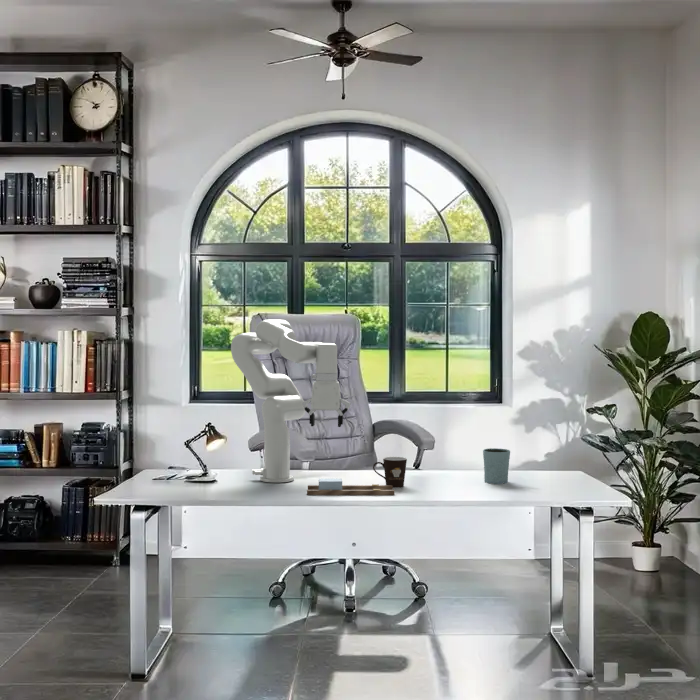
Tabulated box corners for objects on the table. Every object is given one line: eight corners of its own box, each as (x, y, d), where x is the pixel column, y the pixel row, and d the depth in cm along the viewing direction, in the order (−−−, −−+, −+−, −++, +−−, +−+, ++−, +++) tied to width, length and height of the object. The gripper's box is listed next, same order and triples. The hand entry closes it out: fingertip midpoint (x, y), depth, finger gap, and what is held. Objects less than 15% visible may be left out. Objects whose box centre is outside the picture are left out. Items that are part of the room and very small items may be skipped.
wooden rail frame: (306, 494, 310) (307, 489, 310) (307, 489, 321) (307, 484, 321) (394, 495, 311) (394, 489, 311) (392, 489, 321) (392, 484, 321)
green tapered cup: (500, 479, 344) (500, 447, 344) (515, 483, 335) (515, 451, 335) (477, 480, 340) (477, 449, 340) (492, 485, 331) (492, 452, 331)
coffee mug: (409, 484, 331) (409, 457, 331) (403, 488, 323) (403, 460, 323) (379, 482, 335) (379, 455, 335) (371, 486, 327) (372, 459, 326)
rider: (319, 494, 312) (319, 481, 312) (318, 491, 318) (318, 478, 318) (342, 494, 313) (342, 481, 313) (341, 491, 319) (341, 478, 319)
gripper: (300, 378, 317) (300, 426, 317) (349, 379, 315) (348, 428, 315) (304, 377, 324) (304, 424, 325) (352, 377, 322) (351, 425, 322)
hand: (326, 426), depth 320 cm, fingers open, 9 cm apart
